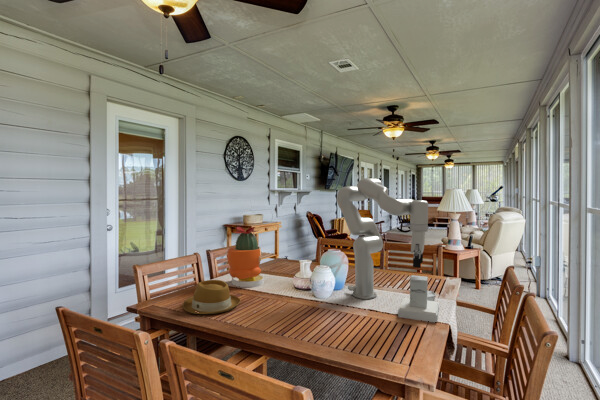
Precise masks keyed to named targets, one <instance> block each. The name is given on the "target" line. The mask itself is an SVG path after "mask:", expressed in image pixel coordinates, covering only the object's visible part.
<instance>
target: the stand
mask: <svg viewBox="0 0 600 400" xmlns="http://www.w3.org/2000/svg"><path fill="white" fill-rule="evenodd" d="M439 311H440V303H439V302H438V301H435V300H434V301H428V300H427V308H422V307H414V306H410V297H404V298H403V299H402V301H401V303H400V306H399V308H398V311H397V313H398V314H397V317H398V318H404V319H410V320H414V321H415V320H416V321H421V320H422V321H423V322H428V321H429V322H428V323H435V322H437V323H438V320H439V313H438V312H439Z"/></svg>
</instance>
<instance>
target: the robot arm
mask: <svg viewBox="0 0 600 400" xmlns="http://www.w3.org/2000/svg"><path fill="white" fill-rule="evenodd" d="M368 199H371V200H373V201H374V202H376V203H377V204H378V206H379V207H380V209H381V210H382V211H384V212H385V213H386V212H387V213H388V214H390V215H393V216H395V217H396V216H397V217H398V216H400V217H401V216H408V215H410V218H409V220H410V223H409V231H411V242H410V243H411V245H410V253H411V254H413V258H412V268H418V269H421V267H422V265H421V264H423V262H424V258H423V257H424V254H423V253H424V250H425V238H426V237H425V235H426V233H427V232H428V231H429V230H428V226H429V225H428V224H429V202H428V201H427V200H422V199H418V200H417V199H416V200H415V199H413V198H398V199H396V198H394V197H393V196H390V195H389V189H388V187H386V186H384V185H383V183H382V181H381V180H380V179H378V178H375V177H371V178H370V177H369V178H368V177H366V178H362V179H359V180H358V182H357V184H356V185H347V186H343V187H341V188H339V190H338V191H337V194H336V203H337V205H338V207H339V210H340V211H341V212H342V213H341V214H342V215H343V218H344V220H345V223H346V225H347V227H348V230H349V233H350V234H351V235H352V236H356V237H357V236H359V237H357V238H356V239H355V240H354V241H353V245H352V247H353V249H352V250H353V253H354V267H355V268H354V269H355V270H354V271H355V272H354V273H355V274H354V276H355V278H354V279H355V281H354V282H355V283H354V285H353V286H352V285H348V286H347V289H348V291H351V292H352V296H353V297H355V298H357V299H360V300H361V299H362V300H373V299H375V298H377V297H378V296H377V292H375V290H374V288H375V286H374V282H375V281H374V279H375V278H374V260H373V257H372V255H371V254H374V253H375V254H376V253H378V252H381V251H382V249H383V247H384V242H383V241H384V240H383V238H382V236H381V234H380V231H379V229H378V226H377V225H376V223H375V221H374V220H373V219H372V218H370V217H367V216H366V217H365V216H364V217H362V216H361V214H360V211H359V209H358V208H357V206H356V205H354V203H353V202H363V201H366V200H368Z"/></svg>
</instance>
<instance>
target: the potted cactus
mask: <svg viewBox="0 0 600 400" xmlns="http://www.w3.org/2000/svg"><path fill="white" fill-rule="evenodd" d="M255 229H256V226H252V227H247V228H244V227H242V226H237V227H236V230H235V231H234V234H237V237H236V240H235V244H234V245H235V246H232V247H230V248H228V249H227V253H226V254H227V257H226V258H227V263H228V265H229V270H228V273H229V275H230V277H231V284H232V285H233V286H235V285H236V287H239V286H240V288H257V287H261V286H263V285H264V283H265V281H264V279H265V278H264V276H263V275H261V273H262V269H261V268H260V264H261V261H262V249H261V247H260V246H259V241H258V239H257V236H256V235H255V232H259V231H260V229H259V230H255Z"/></svg>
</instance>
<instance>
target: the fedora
mask: <svg viewBox="0 0 600 400" xmlns="http://www.w3.org/2000/svg"><path fill="white" fill-rule="evenodd" d="M240 303H241V299H240V298H239V297H238V296H236V295H232V294H231V293H230V288H229V285H228V283H227V282H226V281H224V280H222V279H221V280H220V279H209V280H208V279H207V280H203V281H200V282H198V283H197V285H196V287H195V290H194V292H193V296H190V297H188V298H187V299H185V300H184V301H183V302H182V308H183V310H184V311H186V312H187V313H191V314H196V315H215V314H220V313H221V314H222V313H225V312H229V311H231V310H233V309H234V308H236V307H237V306H238V305H240ZM195 311H197V312H199V313H197V312H195Z"/></svg>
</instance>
